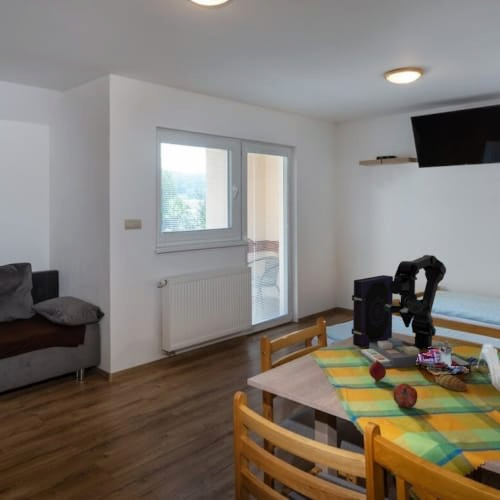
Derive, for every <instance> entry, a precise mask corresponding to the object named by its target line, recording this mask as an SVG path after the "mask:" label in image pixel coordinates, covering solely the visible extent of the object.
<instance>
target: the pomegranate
mask: <svg viewBox="0 0 500 500" xmlns="http://www.w3.org/2000/svg"><path fill="white" fill-rule="evenodd" d="M392 393H393V394H392V396H393V400H394V401H395V403H396V404H397V405H398V406H399V407H403V408H408V409H410V408H412V407H414V406H415V405H416V403H417V402H418V396H419V395H418V391H417V390H416V389H415V387H412V386H411V385H410V384H408V383H400V384H398V385H397V386H396V387H394V389H393V391H392Z"/></svg>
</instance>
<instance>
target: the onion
mask: <svg viewBox="0 0 500 500" xmlns="http://www.w3.org/2000/svg"><path fill="white" fill-rule="evenodd" d="M386 369H387V368H386ZM386 369H385V367H384V366H383V365H382V364H381V363H380V362H379V361H378V360H376V362H375V363H371V365H370V367H369V370H368V372H369V375H370V376H371V378H372V379H373V380H374V381H375V382H380V381H381V380H383V379H384V378H385V376H386V375H387V371H386Z"/></svg>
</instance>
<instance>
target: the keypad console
mask: <svg viewBox="0 0 500 500" xmlns="http://www.w3.org/2000/svg"><path fill="white" fill-rule="evenodd" d="M401 346H405V347H409V346H408V345H406V344H405V343H403V342H402V345H401ZM401 346H392V349H381V348H379V347H378V342H373V343H369V345H368V347H369V348H367V349H365V348H364V349H358V350H357V353H358V352H359V353H360V354H361V355H360V354H359V353H358V354H359V355H360V356H362V355H363V356H364V357H365V359H366V358H367V359H368V360H367V359H366V360H367V361H369V362H370V361H371V362H372V363H371V362H370V363H371V364H373V363H375V362H376V360H378V361H379V362H380V363H381V364H382V365H383V366H384V367H385V368H386V369H394V368H395V369H396V367H398V368H407V367H406V366H410V367H416V366H415V365H416V360H417V357H418V355H407V354H405V353H404V352H403V350H402V351H400V350H398V349H397V348H395V347H401ZM385 350H396V351H398V352H400V353H398V354H389V353H387V352H386V351H385ZM363 356H362V357H363ZM364 357H363V358H364Z"/></svg>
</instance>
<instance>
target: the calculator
mask: <svg viewBox="0 0 500 500" xmlns="http://www.w3.org/2000/svg"><path fill="white" fill-rule="evenodd" d="M451 356H452V364H451V366H464V367H466V368H467V369H469V374H471V373H472V368H471V367H472V365H471V364H470V363H469V362H467V361H465V360H464V359H462V358H459V357H458V356H456V355H451ZM446 366H447V365H444V364H443V365H438V366H435V368H441V367H446Z"/></svg>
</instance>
